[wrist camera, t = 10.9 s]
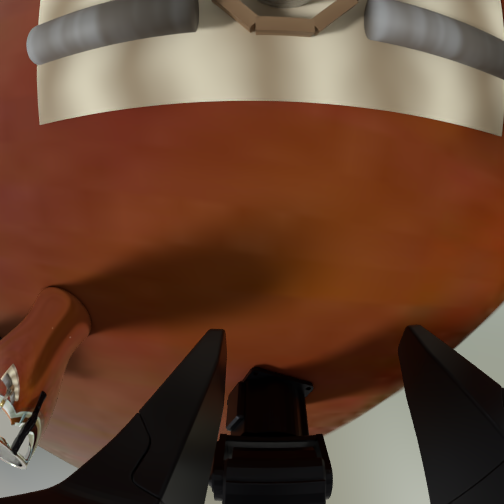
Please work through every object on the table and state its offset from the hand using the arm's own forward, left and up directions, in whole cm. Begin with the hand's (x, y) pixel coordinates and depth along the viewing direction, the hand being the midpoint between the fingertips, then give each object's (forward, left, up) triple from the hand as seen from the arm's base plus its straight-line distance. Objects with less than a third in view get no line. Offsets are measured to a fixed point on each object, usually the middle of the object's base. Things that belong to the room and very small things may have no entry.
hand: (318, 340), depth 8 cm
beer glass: (+13, +18, -13) cm, 26 cm away
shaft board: (+6, -11, -13) cm, 18 cm away
